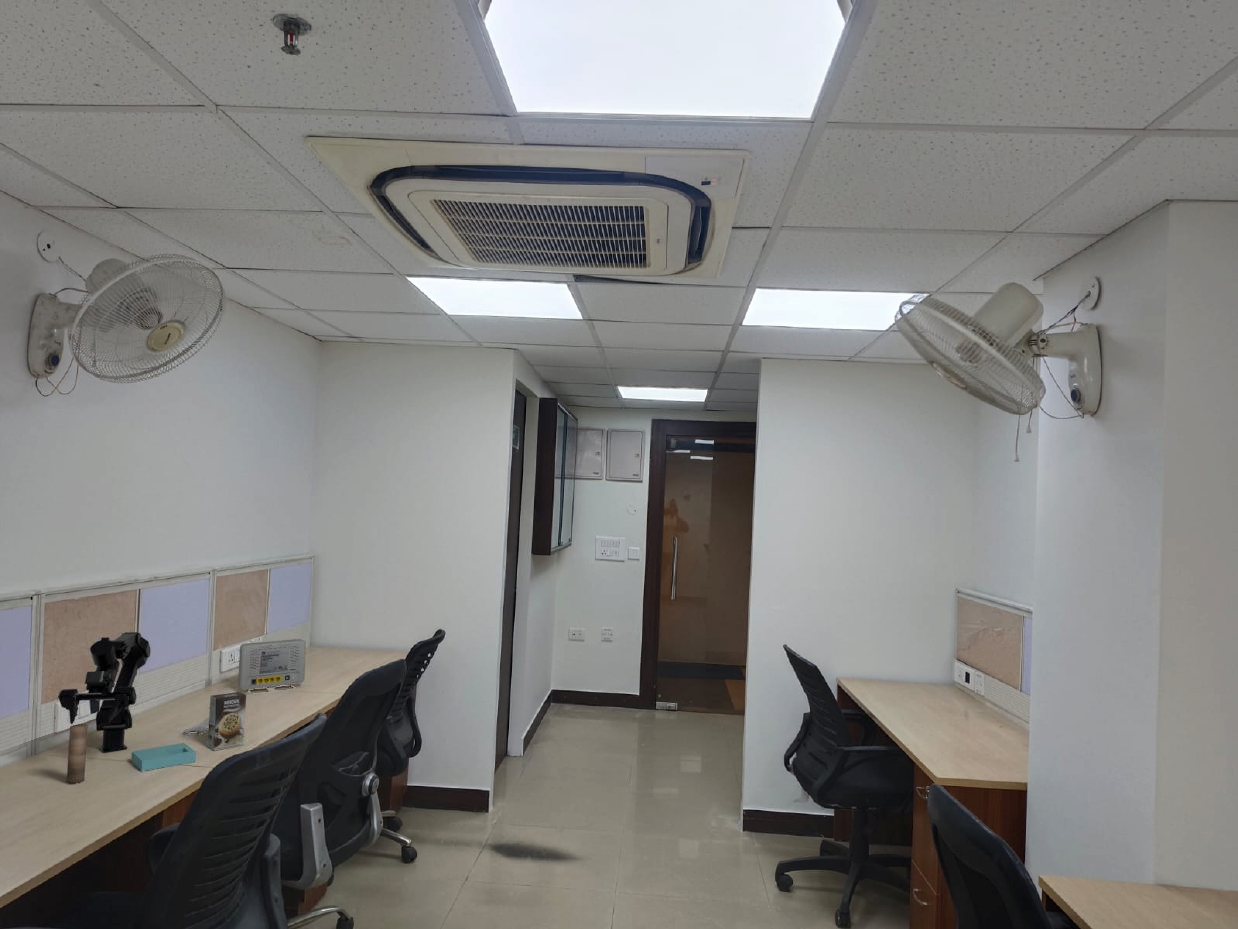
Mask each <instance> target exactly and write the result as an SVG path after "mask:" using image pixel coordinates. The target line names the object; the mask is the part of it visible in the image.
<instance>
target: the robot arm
mask: <svg viewBox="0 0 1238 929" xmlns="http://www.w3.org/2000/svg"><path fill="white" fill-rule="evenodd" d="M89 648H90V649H89V651H90V655H91V657H92V661H93V664H94V666H96V668H95V671H87V672H86V675H85V680H84V684H85V685H86V687H85V689H86V691H88V692H79V691H78V688H65V689H62V690H60V691H59V692H58V696H57V699H58V700H59V703H60V706H61V708H62V709H65V710H67V711H68V713H69V723H70V725H74V723H75V720H76V717H77V713H78V710H79V707H78V706H79V704H80V701H81V702H82V701H101V702H102V703H101V705H100V707H99V710H98V711H96V715H95V727H96V732H99V731H100V732H101V731H102V745H100V746H98V749H99V750H100V751H101V752H102V753H109V752H110V753H111V752H116V751H121V750H127V749H128V746H127V745H126V744H125V734H126V733H125V732H126V730H129V729H131V728H133V717H132V714H131V711H130V709H129V707H130V706H132V705H133V706H134V705H135V704H136V701H137V692H136V689H135V687H134V686H133V685H134V681H135V679H136V676H137V673H138V671H139V670H140V669H141V668H142V667H143V666H145V665H146V663H147V661H148V659H149V658H150V657H151V652H152V651H151V645H150V642H149V640H147V639H146V638H144V637H143V636H142V634H141V632H138V631H126V632H124V633H122V634H121V635H120V636H119V637H117V638H115V639H112V640H110V637H108V636H107V637H105V636H104V637H101V638H100V640H98V641H96V642H94V643H93V644H92V645H91V646H90V647H89ZM119 660H120V661H119ZM120 662H121V663H120ZM120 665H121V669H120ZM119 670H120V671H119ZM117 675H118V677H117ZM116 678H117V679H116Z"/></svg>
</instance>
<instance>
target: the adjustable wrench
mask: <svg viewBox="0 0 1238 929" xmlns="http://www.w3.org/2000/svg"><path fill="white" fill-rule="evenodd" d="M206 726H207V727H206ZM208 728H209V716H207V717H206V718H205V719H204V720H203V721H201V722H200V723H199V724H197V725H196V726H193V727H189V728H187V729H184V730H183V736H185V735H187V737H189V736H190V734H189V733H190V732H198V733H199V734H201V733H204V732H206V731H208ZM206 733H207V732H206ZM199 734H198V735H199ZM204 734H205V733H204ZM201 735H202V734H201Z"/></svg>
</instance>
